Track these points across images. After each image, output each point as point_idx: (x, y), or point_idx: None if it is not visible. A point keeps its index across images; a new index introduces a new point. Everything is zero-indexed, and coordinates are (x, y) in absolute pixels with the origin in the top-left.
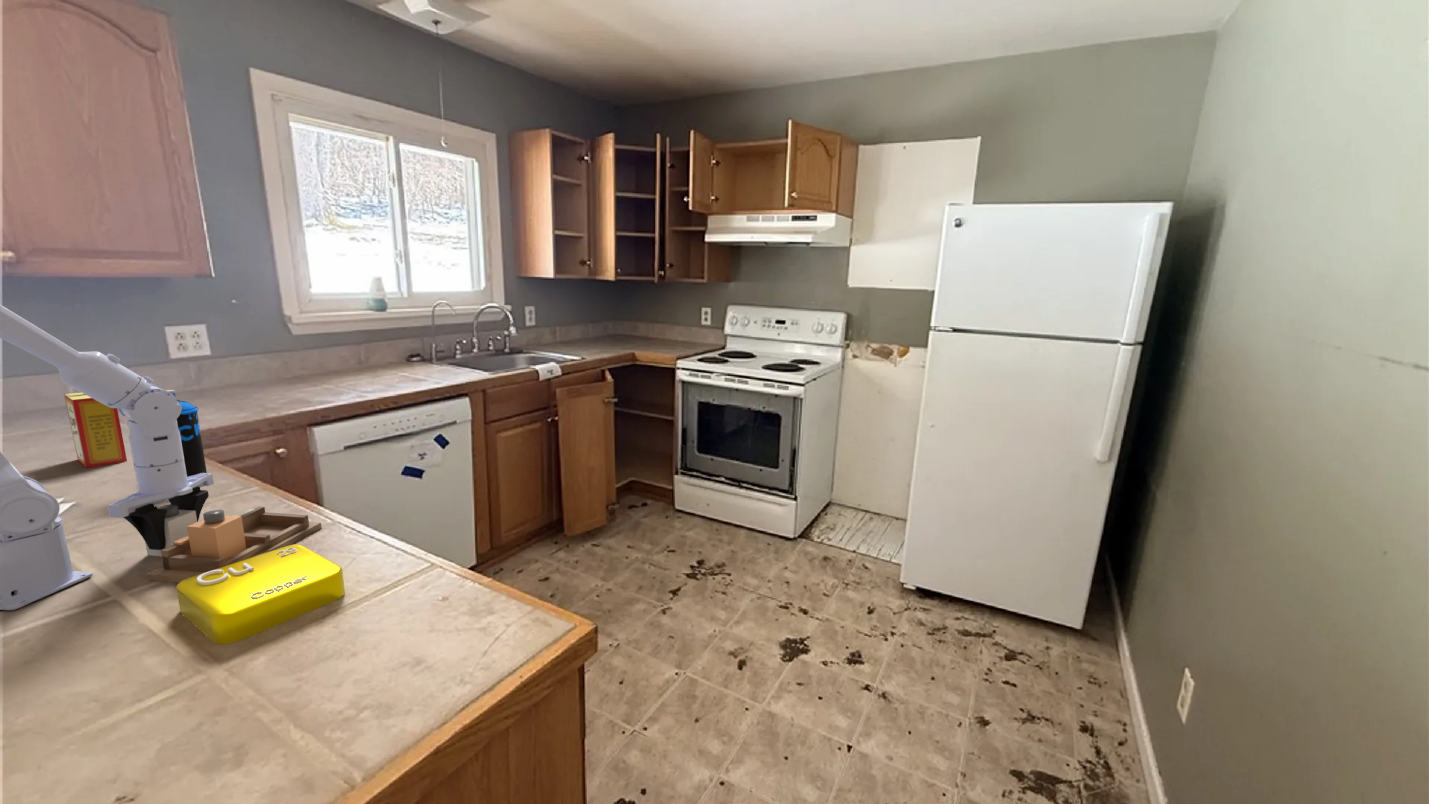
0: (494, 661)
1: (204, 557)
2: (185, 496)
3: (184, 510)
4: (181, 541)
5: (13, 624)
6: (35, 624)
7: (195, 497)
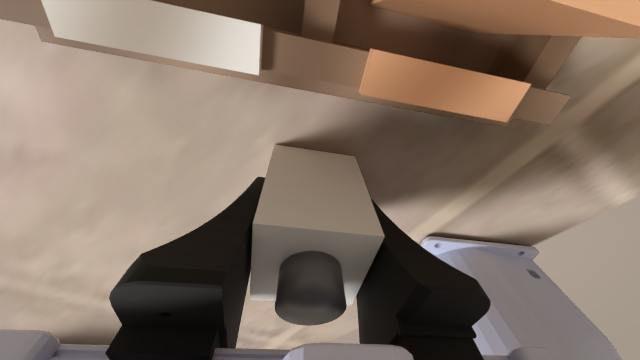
0: None
1: None
2: (227, 323)
3: (257, 257)
4: (513, 90)
5: (592, 217)
6: (620, 187)
7: (225, 284)
